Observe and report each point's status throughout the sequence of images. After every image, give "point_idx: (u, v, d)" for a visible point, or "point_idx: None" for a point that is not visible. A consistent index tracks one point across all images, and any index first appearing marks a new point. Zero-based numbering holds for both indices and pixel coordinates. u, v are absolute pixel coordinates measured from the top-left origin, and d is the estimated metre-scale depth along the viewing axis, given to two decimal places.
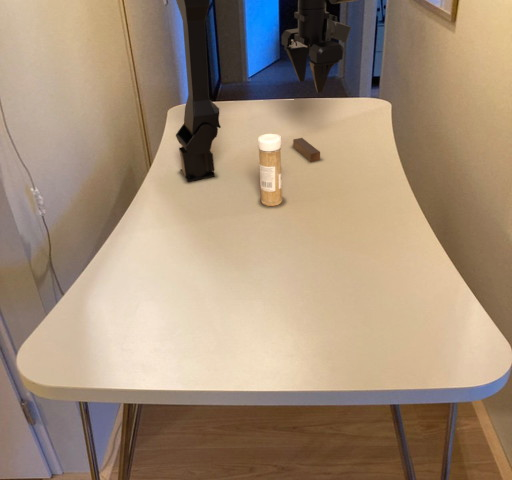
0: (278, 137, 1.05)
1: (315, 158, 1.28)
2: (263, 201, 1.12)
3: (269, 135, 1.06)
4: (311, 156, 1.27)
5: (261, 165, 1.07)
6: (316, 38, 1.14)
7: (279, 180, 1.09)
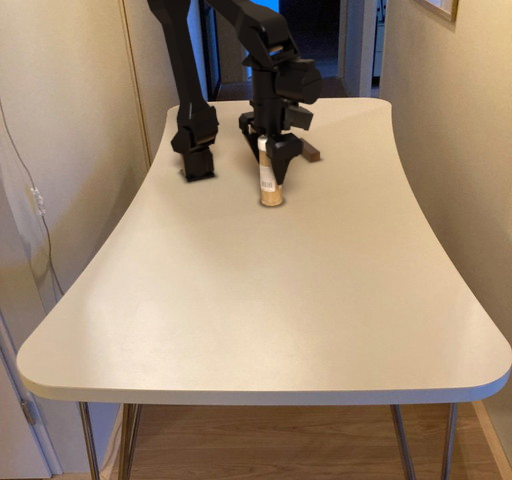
0: None
1: (315, 158, 1.28)
2: (263, 201, 1.12)
3: None
4: (311, 156, 1.27)
5: (261, 165, 1.07)
6: (273, 128, 1.01)
7: None
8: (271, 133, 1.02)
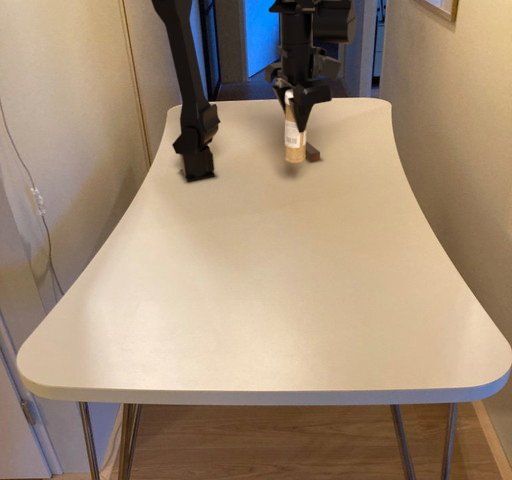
0: None
1: (315, 158, 1.28)
2: (286, 158, 1.12)
3: None
4: (311, 156, 1.27)
5: (287, 120, 1.07)
6: (301, 75, 1.00)
7: (304, 137, 1.09)
8: (299, 81, 1.01)
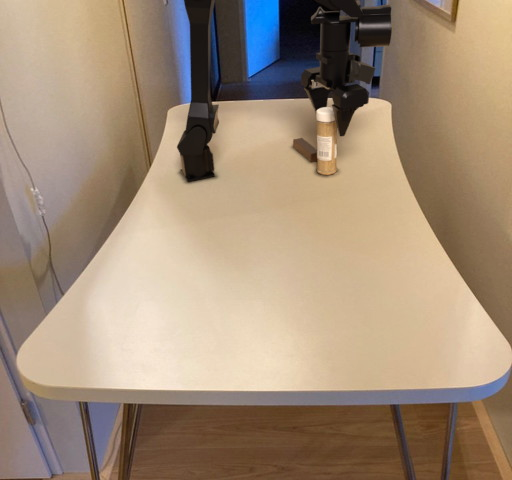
0: None
1: (315, 158, 1.28)
2: (319, 170, 1.22)
3: (326, 108, 1.16)
4: (311, 156, 1.27)
5: (319, 136, 1.17)
6: (339, 80, 1.08)
7: (335, 150, 1.19)
8: (337, 85, 1.08)
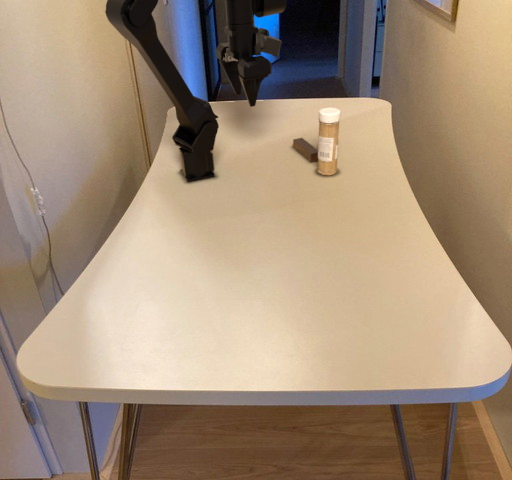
0: (338, 110, 1.14)
1: (315, 158, 1.28)
2: (319, 171, 1.22)
3: (329, 108, 1.15)
4: (311, 156, 1.27)
5: (320, 136, 1.17)
6: (245, 52, 1.14)
7: (336, 151, 1.19)
8: (243, 57, 1.15)
